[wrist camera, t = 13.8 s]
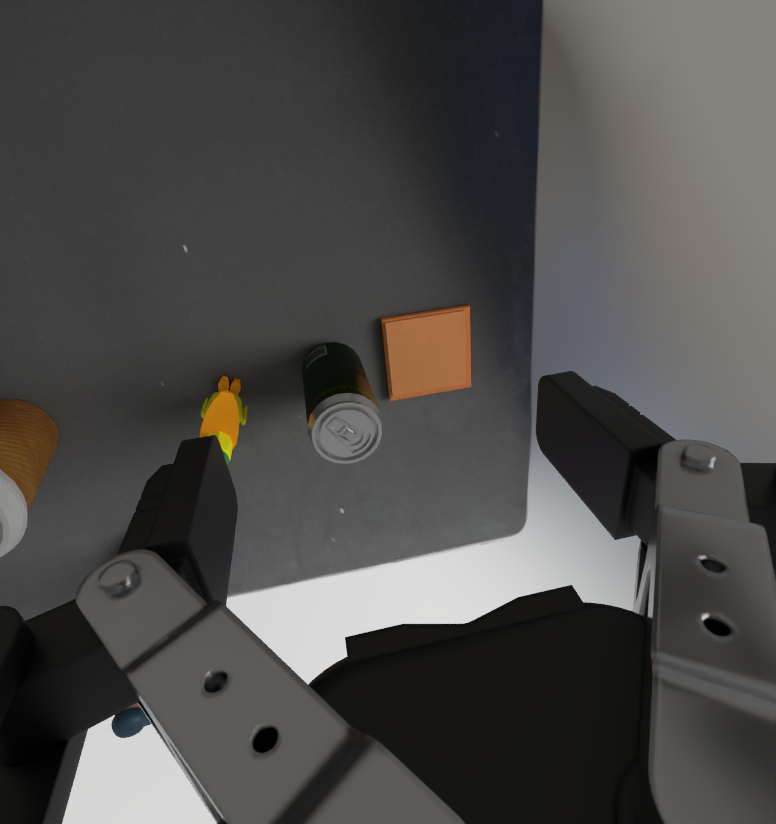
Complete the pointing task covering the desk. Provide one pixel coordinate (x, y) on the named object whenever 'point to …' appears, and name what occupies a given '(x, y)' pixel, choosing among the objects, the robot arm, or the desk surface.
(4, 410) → the disposable coffee cup
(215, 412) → the toy figure
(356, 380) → the beer can
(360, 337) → the desk surface
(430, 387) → the orange square panel
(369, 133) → the desk surface
